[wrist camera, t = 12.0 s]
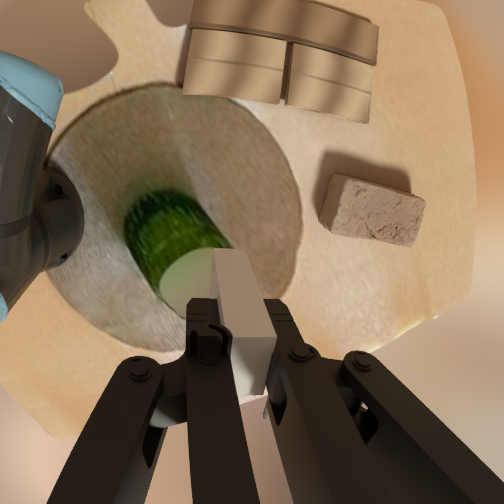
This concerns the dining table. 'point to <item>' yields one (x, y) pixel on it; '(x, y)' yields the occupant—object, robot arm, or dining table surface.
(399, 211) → the brick
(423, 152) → the dining table surface
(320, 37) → the floorboard
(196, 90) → the plank
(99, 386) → the dining table surface
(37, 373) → the dining table surface
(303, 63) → the plank
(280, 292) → the dining table surface
